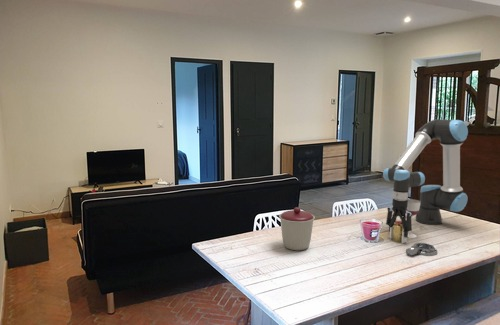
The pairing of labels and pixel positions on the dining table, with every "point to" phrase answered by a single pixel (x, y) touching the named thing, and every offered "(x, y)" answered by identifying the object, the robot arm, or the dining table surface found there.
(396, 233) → the yellow glass cylinder
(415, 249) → the grey flat curved piece
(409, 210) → the wineglass
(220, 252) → the dining table surface
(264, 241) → the dining table surface
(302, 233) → the canister
